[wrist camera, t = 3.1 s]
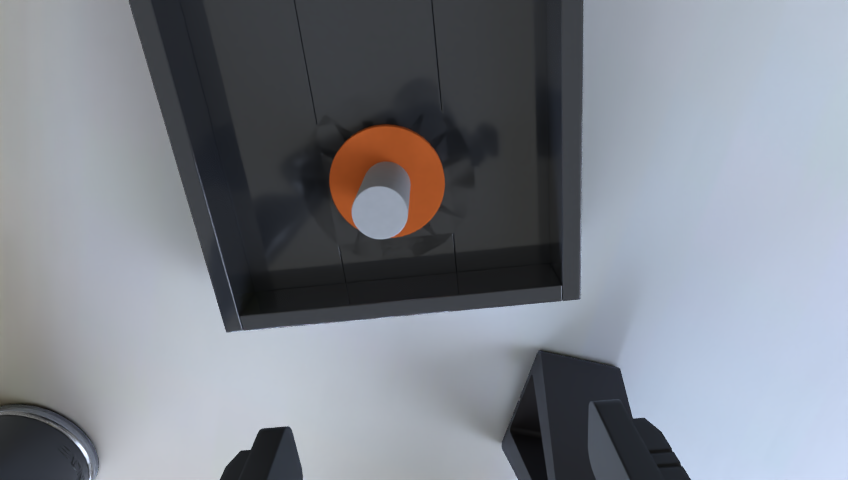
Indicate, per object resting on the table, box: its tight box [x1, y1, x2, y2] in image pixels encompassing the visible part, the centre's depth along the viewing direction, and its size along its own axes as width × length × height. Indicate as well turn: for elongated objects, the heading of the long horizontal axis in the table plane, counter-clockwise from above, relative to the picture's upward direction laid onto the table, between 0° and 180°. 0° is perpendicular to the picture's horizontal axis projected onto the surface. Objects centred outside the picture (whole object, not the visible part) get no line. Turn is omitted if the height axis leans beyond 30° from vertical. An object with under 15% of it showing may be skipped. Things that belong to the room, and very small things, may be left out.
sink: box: [179, 0, 550, 293], centre depth 27 cm, size 20×26×2 cm
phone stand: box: [502, 351, 633, 480], centre depth 31 cm, size 9×6×12 cm, turn 166°
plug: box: [329, 124, 445, 239], centre depth 26 cm, size 6×6×8 cm
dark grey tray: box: [129, 0, 583, 332], centre depth 24 cm, size 20×26×3 cm
